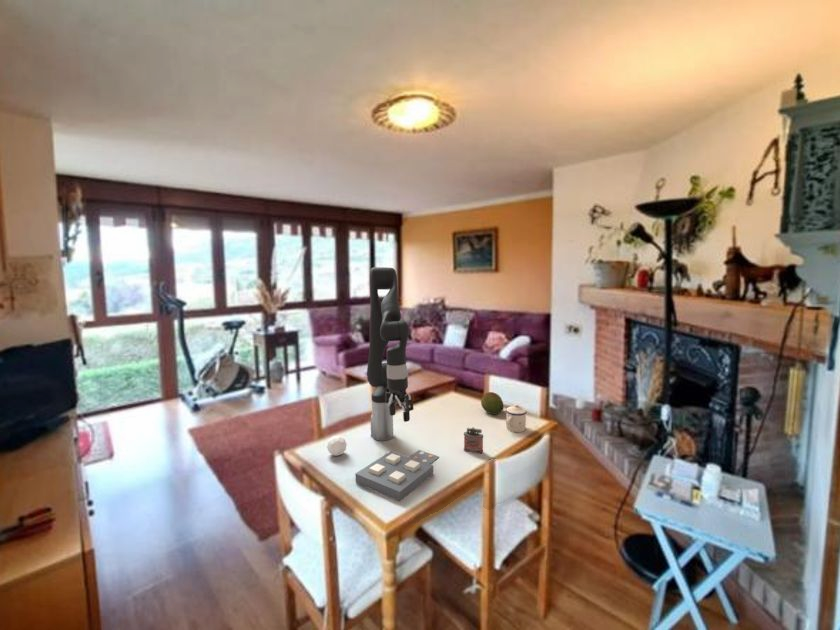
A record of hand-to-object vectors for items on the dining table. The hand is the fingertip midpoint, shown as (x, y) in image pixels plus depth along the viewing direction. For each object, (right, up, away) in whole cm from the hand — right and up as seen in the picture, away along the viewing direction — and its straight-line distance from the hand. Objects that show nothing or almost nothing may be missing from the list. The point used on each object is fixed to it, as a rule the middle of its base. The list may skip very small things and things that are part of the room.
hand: (399, 418), depth 148 cm
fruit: (+45, -12, +57) cm, 74 cm away
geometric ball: (-26, -19, +15) cm, 36 cm away
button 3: (-8, -19, -5) cm, 21 cm away
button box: (-1, -21, -3) cm, 21 cm away
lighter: (+30, -18, +16) cm, 38 cm away
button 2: (+5, -19, -2) cm, 19 cm away
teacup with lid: (+51, -15, +37) cm, 65 cm away
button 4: (0, -20, -10) cm, 22 cm away
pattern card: (+9, -19, +11) cm, 24 cm away
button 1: (-3, -18, +3) cm, 18 cm away
